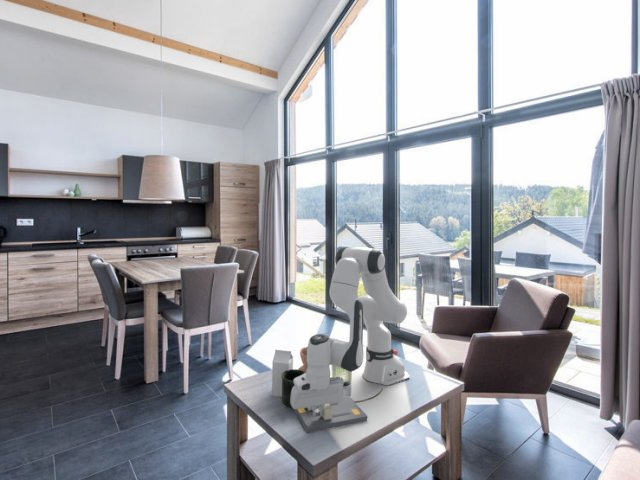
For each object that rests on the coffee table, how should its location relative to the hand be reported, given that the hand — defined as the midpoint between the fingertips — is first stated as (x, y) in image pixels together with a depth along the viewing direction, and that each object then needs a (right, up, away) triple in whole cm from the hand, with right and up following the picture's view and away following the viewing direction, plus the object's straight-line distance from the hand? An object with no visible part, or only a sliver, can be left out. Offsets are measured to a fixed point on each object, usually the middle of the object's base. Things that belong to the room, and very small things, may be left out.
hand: (317, 415), depth 140 cm
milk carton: (-15, -1, +23) cm, 28 cm away
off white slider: (-2, -1, +8) cm, 8 cm away
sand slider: (+3, -1, +1) cm, 4 cm away
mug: (-10, -2, +16) cm, 20 cm away
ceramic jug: (-2, -1, +36) cm, 36 cm away
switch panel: (+5, -3, +6) cm, 9 cm away
